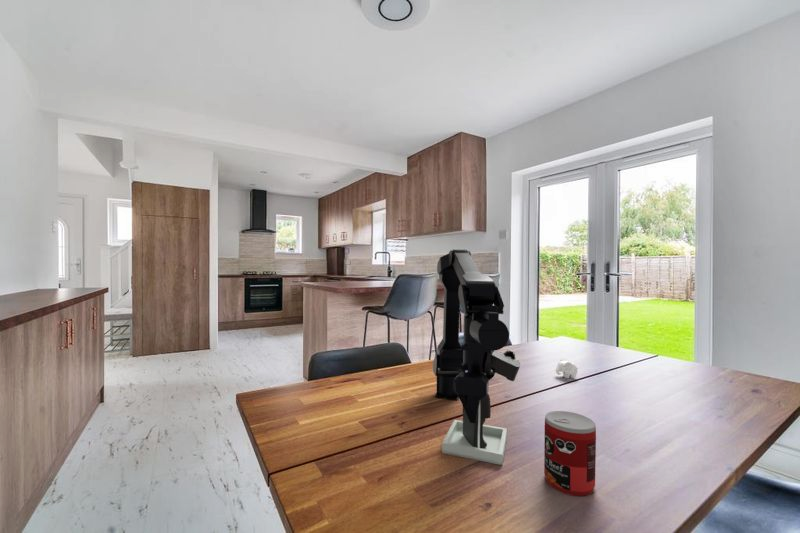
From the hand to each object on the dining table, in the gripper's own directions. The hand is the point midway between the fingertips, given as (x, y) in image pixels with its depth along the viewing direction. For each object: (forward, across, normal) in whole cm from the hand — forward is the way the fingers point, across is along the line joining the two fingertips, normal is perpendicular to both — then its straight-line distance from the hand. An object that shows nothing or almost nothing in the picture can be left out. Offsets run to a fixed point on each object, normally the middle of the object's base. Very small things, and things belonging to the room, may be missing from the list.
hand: (476, 413), depth 73 cm
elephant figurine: (+7, +59, -22) cm, 63 cm away
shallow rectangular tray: (+6, 0, 0) cm, 6 cm away
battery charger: (+6, 0, 0) cm, 6 cm away
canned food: (+7, -7, -17) cm, 20 cm away
